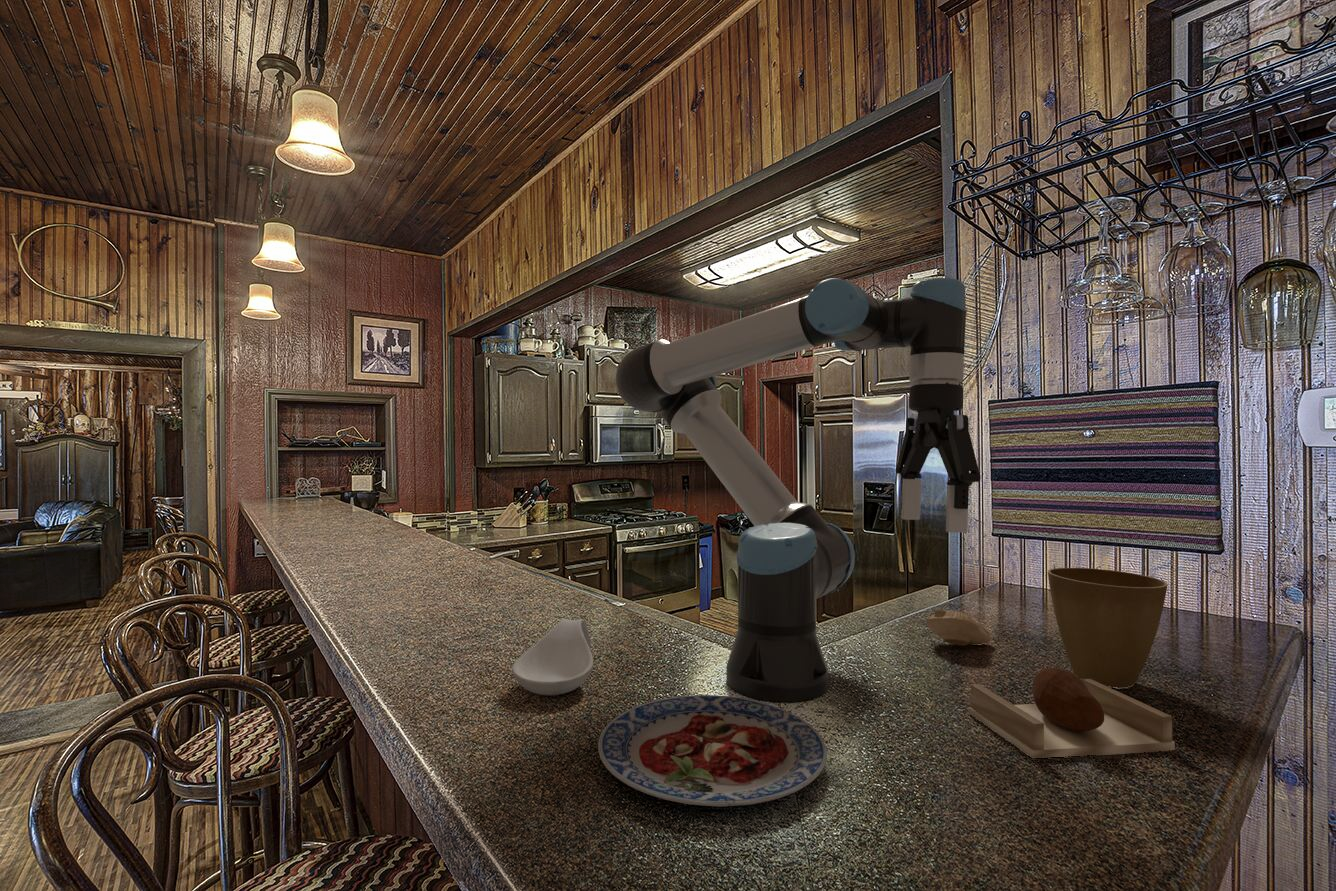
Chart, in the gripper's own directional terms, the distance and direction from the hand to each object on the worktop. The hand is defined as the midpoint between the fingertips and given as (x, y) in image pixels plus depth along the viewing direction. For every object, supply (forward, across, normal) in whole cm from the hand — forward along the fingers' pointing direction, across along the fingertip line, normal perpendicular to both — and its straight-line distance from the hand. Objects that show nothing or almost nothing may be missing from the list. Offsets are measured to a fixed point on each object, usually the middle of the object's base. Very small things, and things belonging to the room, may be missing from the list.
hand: (931, 525), depth 93 cm
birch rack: (+23, -17, -9) cm, 30 cm away
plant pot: (+23, -2, -27) cm, 36 cm away
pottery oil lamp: (+24, +16, -15) cm, 32 cm away
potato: (+22, -17, -9) cm, 29 cm away
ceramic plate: (+25, -20, +36) cm, 48 cm away
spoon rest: (+26, +8, +55) cm, 62 cm away
